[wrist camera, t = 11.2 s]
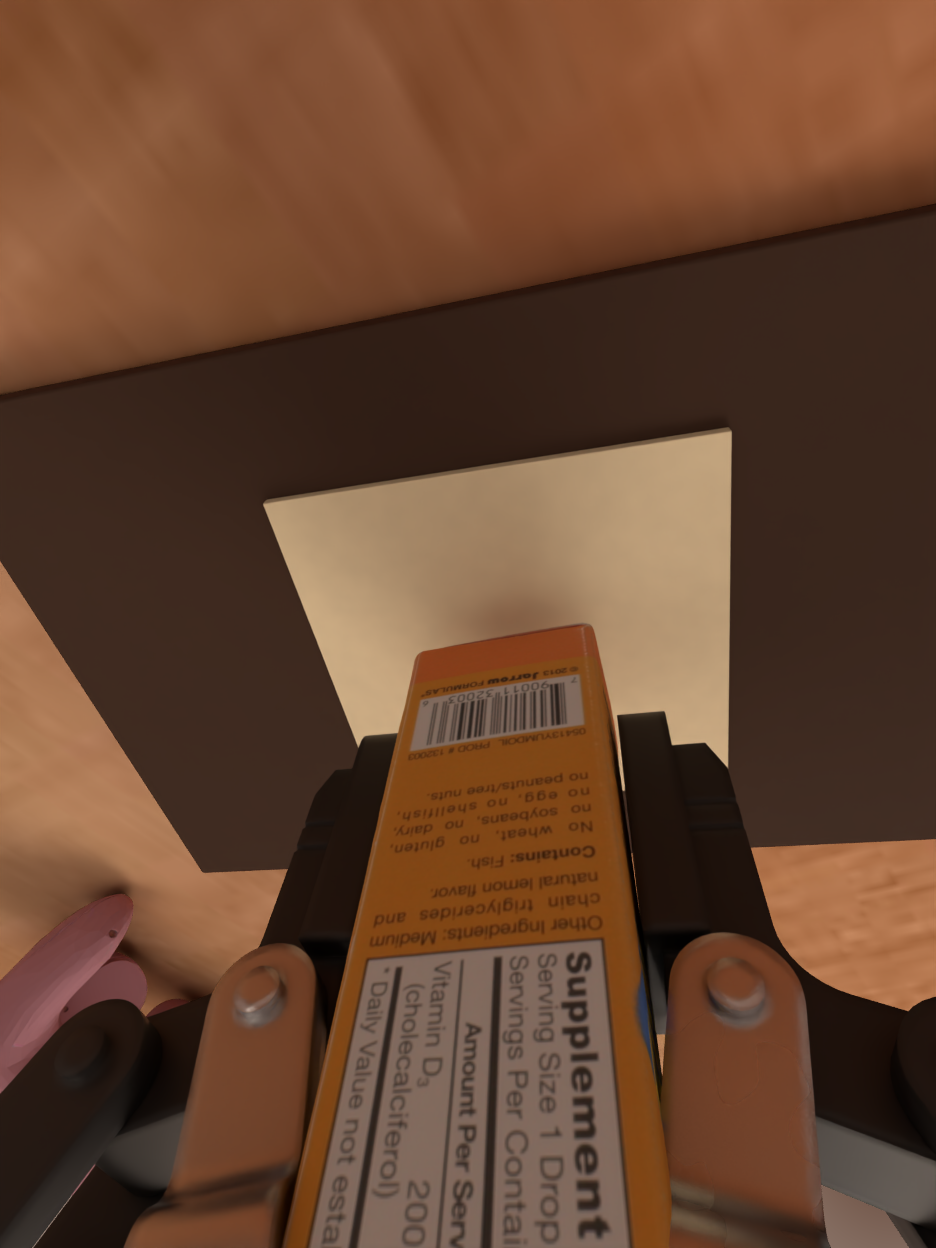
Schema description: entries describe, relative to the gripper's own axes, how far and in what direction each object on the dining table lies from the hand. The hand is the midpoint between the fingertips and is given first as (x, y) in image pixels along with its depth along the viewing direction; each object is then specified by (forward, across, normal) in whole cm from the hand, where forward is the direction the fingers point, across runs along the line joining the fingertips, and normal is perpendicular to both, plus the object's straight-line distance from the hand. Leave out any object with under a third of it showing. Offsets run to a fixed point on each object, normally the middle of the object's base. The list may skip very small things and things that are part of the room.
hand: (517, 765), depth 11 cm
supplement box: (+2, 0, 0) cm, 2 cm away
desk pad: (+4, 0, 0) cm, 4 cm away
